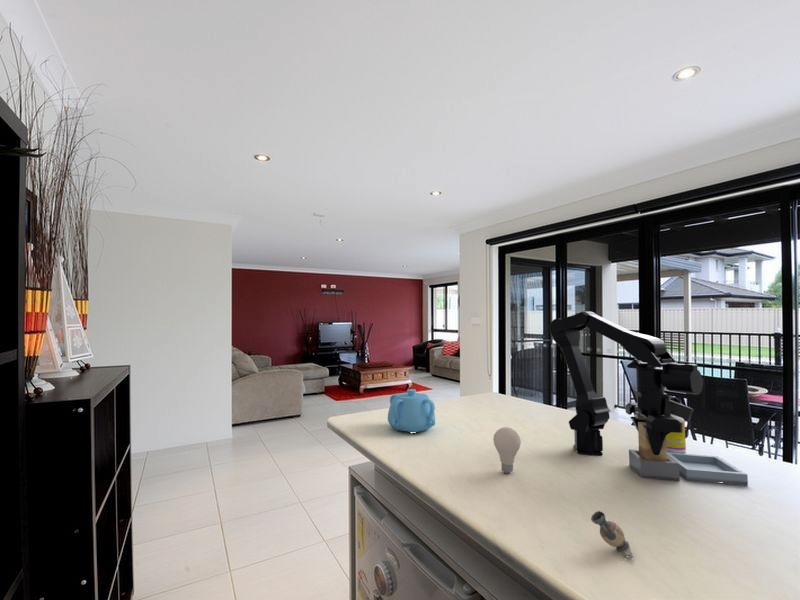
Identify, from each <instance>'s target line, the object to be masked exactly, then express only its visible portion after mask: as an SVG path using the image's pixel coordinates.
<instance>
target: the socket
mask: <svg viewBox="0 0 800 600" xmlns="http://www.w3.org/2000/svg"><path fill="white" fill-rule="evenodd" d="M628 460H629V462H628V463H629V464H628V465H629V467H630V468H631V469H633V471H634V472H635V473H636V474H637V475H638V476H639V477H640V478H642V479H644V478H645V479H651V478H652V479H653V480H654V479H655V480H663V481H673V482H674V481H675V482H680V474H679V463H677V462H676V461H675V460H673V459H672V458H671V457H670V456H668V455H667V461H657V460H645V459H643V458H642V457H640V456H639V449H628Z"/></svg>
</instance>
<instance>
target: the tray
mask: <svg viewBox="0 0 800 600" xmlns="http://www.w3.org/2000/svg"><path fill="white" fill-rule="evenodd" d="M667 455H668V456H670V457H671V458H672V459H673V460H675V461H676V462H677V463H679V476H681V477H682V478H684V479H685V480H686V481H692V482H693V481H694V482H701V481H704V482H703V483H713V482H723V483H722V484H724V483H732V484H731V485H735V484H739V485H738V486H746V485H748V486H749V480H748V474H747V473H746V472H744V471H743V470H741V469H739V468H737V467H736V466H734V465H732V464H731V463H730V462H727V461H726V460H724V459H723V458H721V457H720V456H717V455H703V454H694V453H693V454H692V453H671V452H667Z"/></svg>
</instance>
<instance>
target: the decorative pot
mask: <svg viewBox="0 0 800 600" xmlns="http://www.w3.org/2000/svg"><path fill="white" fill-rule="evenodd" d="M389 404H390V405H389V408H388V412H387V422H388V423H389V425H390V427H391V428H392V429H394V430H395V429H398V430H399V431H403V432H408V433H409V432H419V433H420V432H423V431H427V429H428V430H429V429H432V427H434V426H435V425H436V413H435V409H436V406H435V403H434V402H433V401H432V399H430V396H428V394H426V393H419V392H418V393H417V390H416V389H413V388H410V389H407V390H406V392H402V393H393V394H392V395H390V398H389ZM398 430H397V431H398Z"/></svg>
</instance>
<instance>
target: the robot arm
mask: <svg viewBox="0 0 800 600" xmlns="http://www.w3.org/2000/svg"><path fill="white" fill-rule="evenodd" d="M587 328H588V329H590V330H592V331H594V332H596V333H598V334H600V335H602V336H604V337H606V338H608V339H610V340H612V341H614V342H615V343H617V344H619V345H620V346H621V347H623V349H624V350H625V351H626V352H627V353H628V354H629V355H630V356H632V357H633V358H634V359H633V360H632V361H631V362H630V363H629V364H627V365H626V368H628V369H635V371H636V372H635V374H636V375H635V377H636V389H633V392H634V393H633V394H634V395H635V396H636V402H628V403H626V405H624V406H625V407H624V408H625V413H626V414H627V415H629V416H630V415H632V414H633V416H630V420H631V421H632V423H633V425H634V427H635V429H636V430H637V432H638V422H646V425H647V426H644V425H642V426H643V429H644V431H645V434H646V436H647V439H648V442H649V444H650V447H651V449H652V451H653V454H654V455H659V454H660V451H661V448H662V445H663V442H664V439H665V437H666V435H667V434H669V433H671V432H675V433H682V432H683V429H682V423H681V422H679V421H678V420H677V419H675V418H673V417H671V414H673V415H675V416H678V417H681V418H683V419H684V420H685V421H687V422H690V420H691V417H692V415H693V412H694V408H691V407H690V406H687V405H684V404H682V403H681V401H680V399H679V398H677V397H674V396H671V395H668V393H666V392H665V388H666V390H667V391H670V392H676V393H682V394H683V393H684V394H688V395H689V394H690V395H697V396H698V395H700V394H701V392H702V391H703V389H704V388H703V387H704V378H703V376H702V373H701V372H700V370H699V368H698V364H697V363H696V364H695V363H687V364H685V363H678V361H677V360H676V359H675V358H674V357H673V355H672V354H671V353H670V351H668V349H667V346H666V343H665V341H663V339H661V338H659V337H656V336H652V335H649V334H643V333H640V332H637V331H636V332H635V331H631V330H630V329H627V328H625V327H624V326H621V325H619V324H616V323H615V322H613V321H611V320H608V319H607V318H604V317H602V316H600V315H598V314H596V313H595V312H593V311H583V310H582V311H580V312H579V313H578V312H577V313H576V314H573V315H569V316H565V317H563V318H554V319H553V320H552V321H551V322H550V325H548V329H549V333H550V335H551V337H552V339H553V342H555V343H556V344H557V345H558V347H560V348H561V350H562V354H563V357H564V360H565V363H566V366H567V369H568V372H569V375H570V378H571V381H572V385H573V388H574V391H575V394H576V401H575V404H574V405H575V406H574V407H575V415H574V416H573V417H572V418H571V419H570V420H569V421H568V424H569V428H570V430H572V431H574V444H573V445H572V446H573V448H574V449H575V451H576V453H577V454H583V455H596V456H603V450H604V447H603V446H604V443H603V435H602V434H601V430H603V429H605V425H606V424H607V423H608V422H609V420H610V416H611V415H610V412H611V410H610V408H609V406H608V403H607V399H606V397H605V396H602V397H600V396H599V395H598V394H597V393H596V392H595V389H594V386H593V382H592V381H591V378H590V375H589V372H588V368H587V366H586V363H585V360H584V357H583V354H582V351H581V349H580V348H581V347H580V344H579V343H580V340H581V331H584V330H586V329H587ZM662 415H664V416H662Z"/></svg>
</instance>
